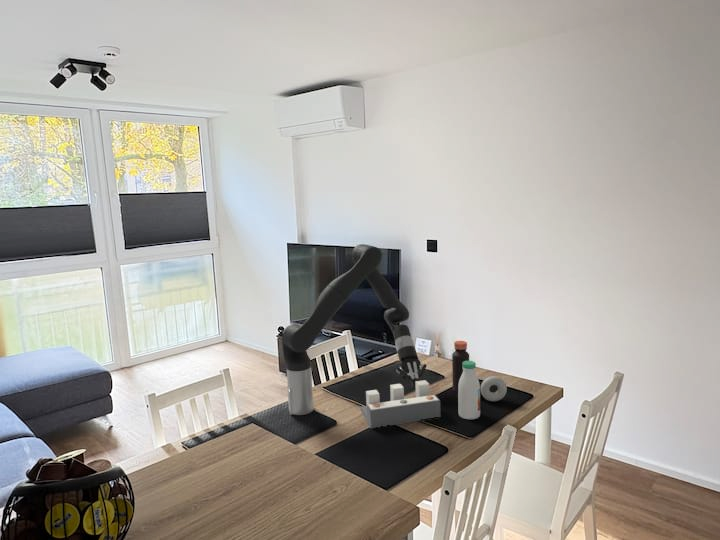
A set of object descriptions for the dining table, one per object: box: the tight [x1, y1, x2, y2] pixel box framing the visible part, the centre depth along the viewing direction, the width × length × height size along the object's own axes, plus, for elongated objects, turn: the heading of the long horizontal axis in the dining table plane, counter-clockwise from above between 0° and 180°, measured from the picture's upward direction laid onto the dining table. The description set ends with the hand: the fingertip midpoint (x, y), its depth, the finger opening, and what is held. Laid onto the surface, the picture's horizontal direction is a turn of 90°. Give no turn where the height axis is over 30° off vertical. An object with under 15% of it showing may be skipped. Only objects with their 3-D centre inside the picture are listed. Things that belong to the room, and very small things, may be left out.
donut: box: [480, 375, 508, 402], centre depth 189 cm, size 10×4×10 cm, turn 90°
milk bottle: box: [457, 360, 481, 420], centre depth 178 cm, size 8×8×20 cm
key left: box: [365, 389, 381, 406], centre depth 179 cm, size 4×4×8 cm
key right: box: [415, 379, 431, 398], centre depth 186 cm, size 4×4×8 cm
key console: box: [360, 394, 442, 429], centre depth 182 cm, size 26×15×7 cm, turn 103°
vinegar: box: [451, 340, 470, 393], centre depth 200 cm, size 7×7×20 cm
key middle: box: [389, 383, 405, 401], centre depth 184 cm, size 4×4×8 cm
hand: (417, 389), depth 192 cm, fingers closed
